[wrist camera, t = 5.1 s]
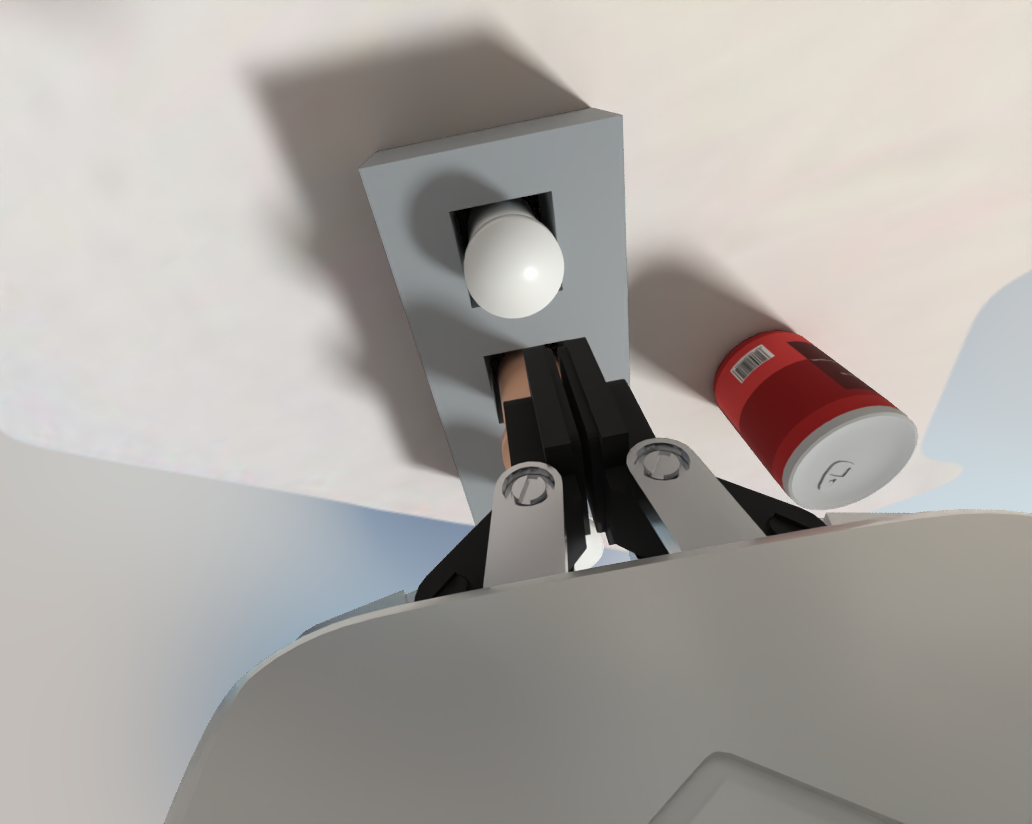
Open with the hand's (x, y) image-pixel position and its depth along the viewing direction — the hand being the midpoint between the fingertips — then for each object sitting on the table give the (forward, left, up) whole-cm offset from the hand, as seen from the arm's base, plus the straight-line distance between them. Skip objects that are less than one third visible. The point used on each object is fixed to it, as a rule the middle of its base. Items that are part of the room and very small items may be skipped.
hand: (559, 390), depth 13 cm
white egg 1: (0, 0, -19) cm, 19 cm away
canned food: (+15, +18, -20) cm, 31 cm away
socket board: (+8, 0, -20) cm, 21 cm away
